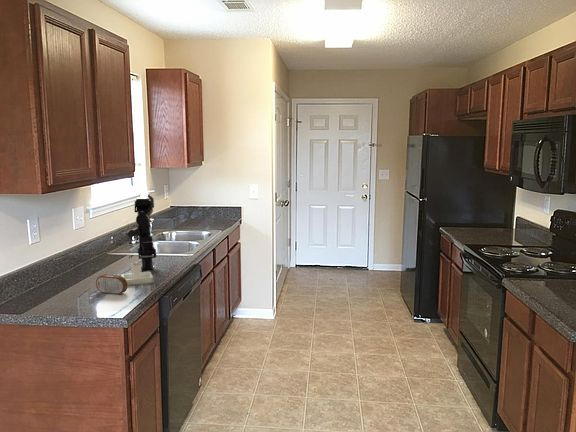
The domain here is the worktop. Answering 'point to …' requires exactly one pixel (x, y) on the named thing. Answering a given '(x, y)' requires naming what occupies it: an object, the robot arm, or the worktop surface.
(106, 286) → the tin
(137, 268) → the cream block
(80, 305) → the worktop surface
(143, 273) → the tray
